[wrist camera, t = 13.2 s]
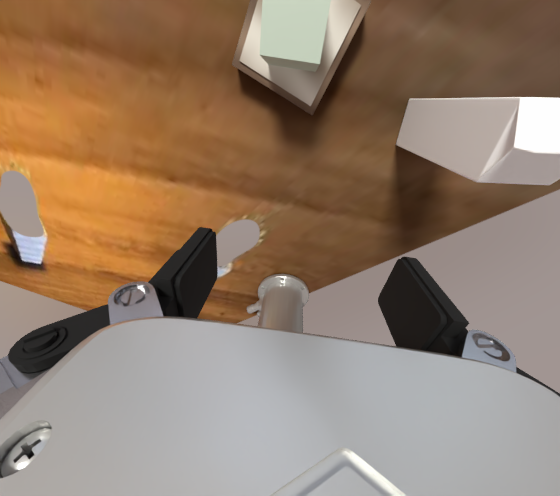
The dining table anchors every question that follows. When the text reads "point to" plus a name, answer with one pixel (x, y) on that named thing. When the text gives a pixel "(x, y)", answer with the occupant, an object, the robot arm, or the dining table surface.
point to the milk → (487, 137)
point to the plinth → (294, 82)
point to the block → (293, 32)
